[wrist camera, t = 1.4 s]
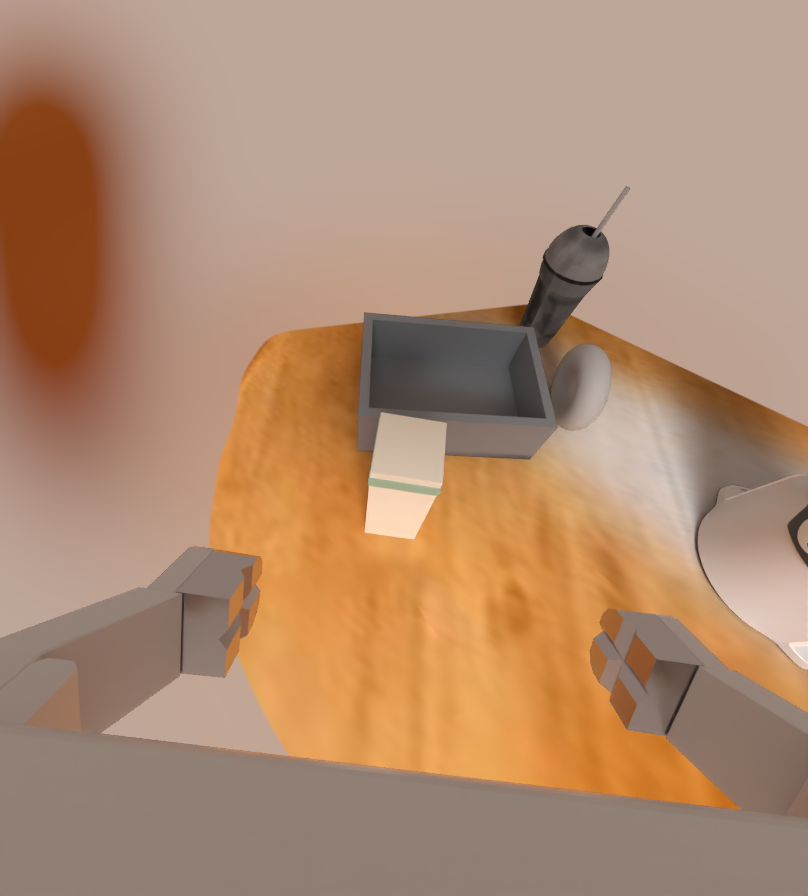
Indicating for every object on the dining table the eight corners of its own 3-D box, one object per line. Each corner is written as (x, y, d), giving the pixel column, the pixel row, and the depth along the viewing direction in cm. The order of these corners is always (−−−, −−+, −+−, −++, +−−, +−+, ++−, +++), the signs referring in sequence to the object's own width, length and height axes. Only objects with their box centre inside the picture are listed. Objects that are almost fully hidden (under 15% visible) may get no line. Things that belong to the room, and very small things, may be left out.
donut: (541, 379, 51) (580, 322, 42) (566, 383, 51) (610, 327, 42) (548, 444, 46) (594, 393, 37) (576, 448, 46) (627, 399, 37)
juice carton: (419, 492, 41) (448, 421, 29) (414, 540, 38) (444, 484, 26) (371, 485, 41) (379, 410, 28) (363, 532, 38) (368, 473, 26)
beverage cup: (503, 317, 56) (572, 163, 39) (550, 319, 57) (637, 170, 40) (513, 355, 52) (593, 204, 35) (563, 356, 53) (664, 210, 36)
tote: (512, 366, 51) (533, 327, 45) (529, 459, 45) (557, 427, 38) (362, 355, 49) (364, 312, 43) (357, 450, 42) (358, 415, 36)
